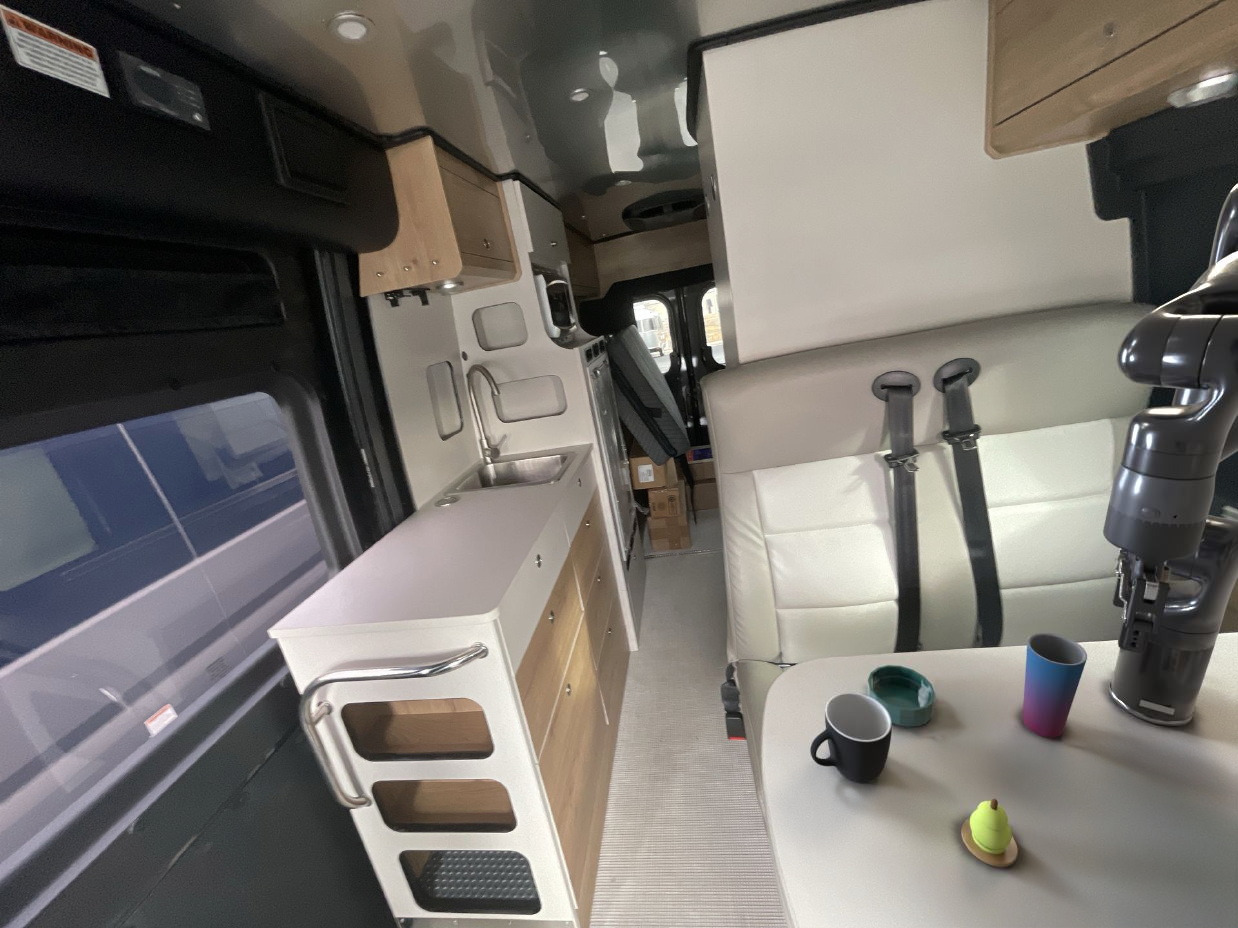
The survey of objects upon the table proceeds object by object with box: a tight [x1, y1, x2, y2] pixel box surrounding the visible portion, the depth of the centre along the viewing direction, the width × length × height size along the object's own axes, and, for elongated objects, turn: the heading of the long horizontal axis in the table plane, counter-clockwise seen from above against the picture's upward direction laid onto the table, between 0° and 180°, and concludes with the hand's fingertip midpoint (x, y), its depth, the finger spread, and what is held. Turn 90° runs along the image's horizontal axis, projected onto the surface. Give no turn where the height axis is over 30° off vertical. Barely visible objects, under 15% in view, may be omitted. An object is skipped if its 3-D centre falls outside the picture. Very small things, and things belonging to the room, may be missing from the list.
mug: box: [809, 692, 893, 784], centre depth 79 cm, size 12×9×10 cm
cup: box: [1021, 632, 1088, 739], centre depth 80 cm, size 7×7×15 cm
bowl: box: [866, 664, 936, 728], centre depth 89 cm, size 10×10×4 cm
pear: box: [969, 797, 1013, 854], centre depth 67 cm, size 4×4×8 cm
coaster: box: [960, 817, 1019, 868], centre depth 69 cm, size 6×6×1 cm
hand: (1127, 626), depth 63 cm, fingers open, 8 cm apart
